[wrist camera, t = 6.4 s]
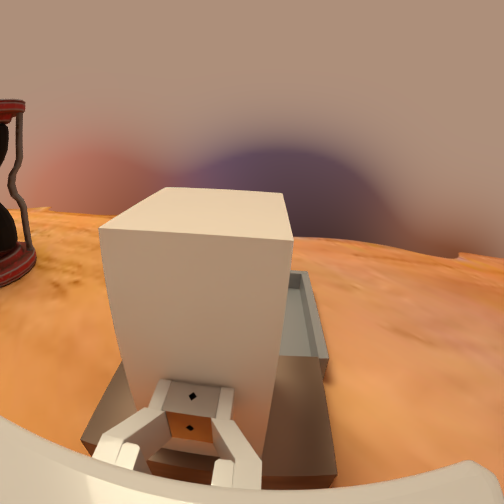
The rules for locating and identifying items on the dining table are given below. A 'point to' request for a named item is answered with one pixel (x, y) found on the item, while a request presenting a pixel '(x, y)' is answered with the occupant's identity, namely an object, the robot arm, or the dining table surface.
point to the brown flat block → (276, 440)
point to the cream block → (201, 297)
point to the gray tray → (302, 322)
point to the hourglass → (3, 227)
